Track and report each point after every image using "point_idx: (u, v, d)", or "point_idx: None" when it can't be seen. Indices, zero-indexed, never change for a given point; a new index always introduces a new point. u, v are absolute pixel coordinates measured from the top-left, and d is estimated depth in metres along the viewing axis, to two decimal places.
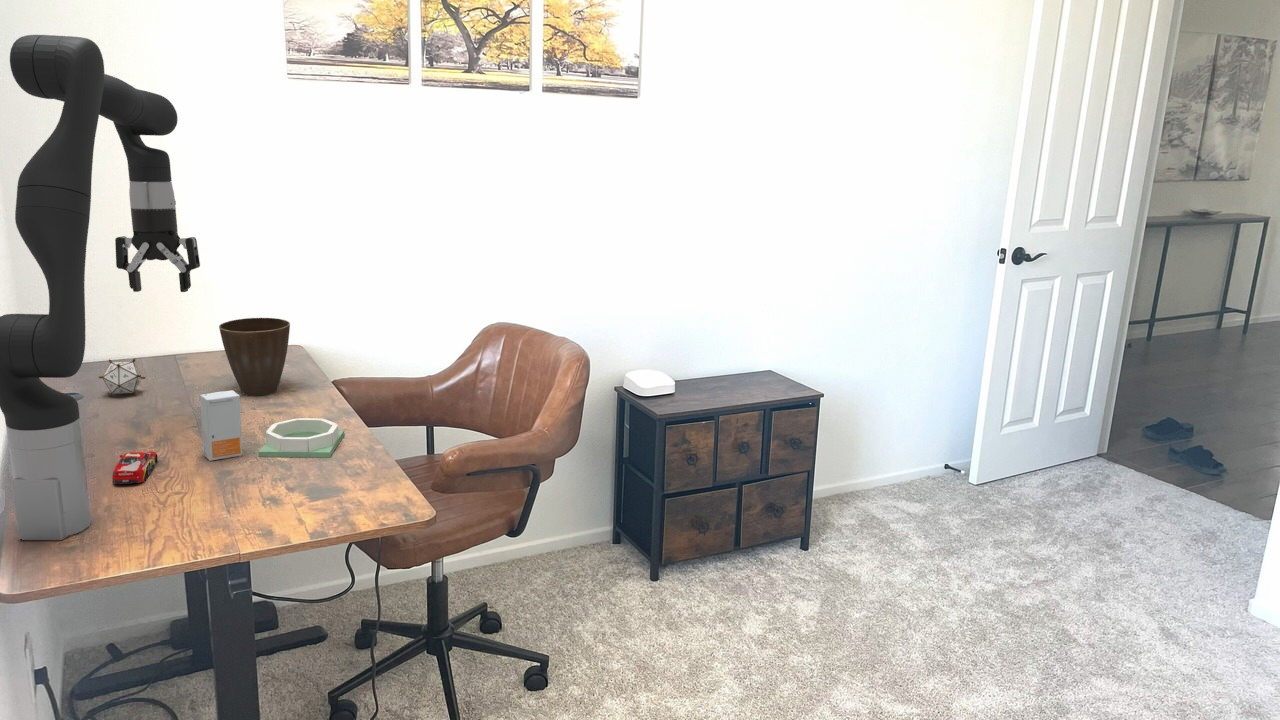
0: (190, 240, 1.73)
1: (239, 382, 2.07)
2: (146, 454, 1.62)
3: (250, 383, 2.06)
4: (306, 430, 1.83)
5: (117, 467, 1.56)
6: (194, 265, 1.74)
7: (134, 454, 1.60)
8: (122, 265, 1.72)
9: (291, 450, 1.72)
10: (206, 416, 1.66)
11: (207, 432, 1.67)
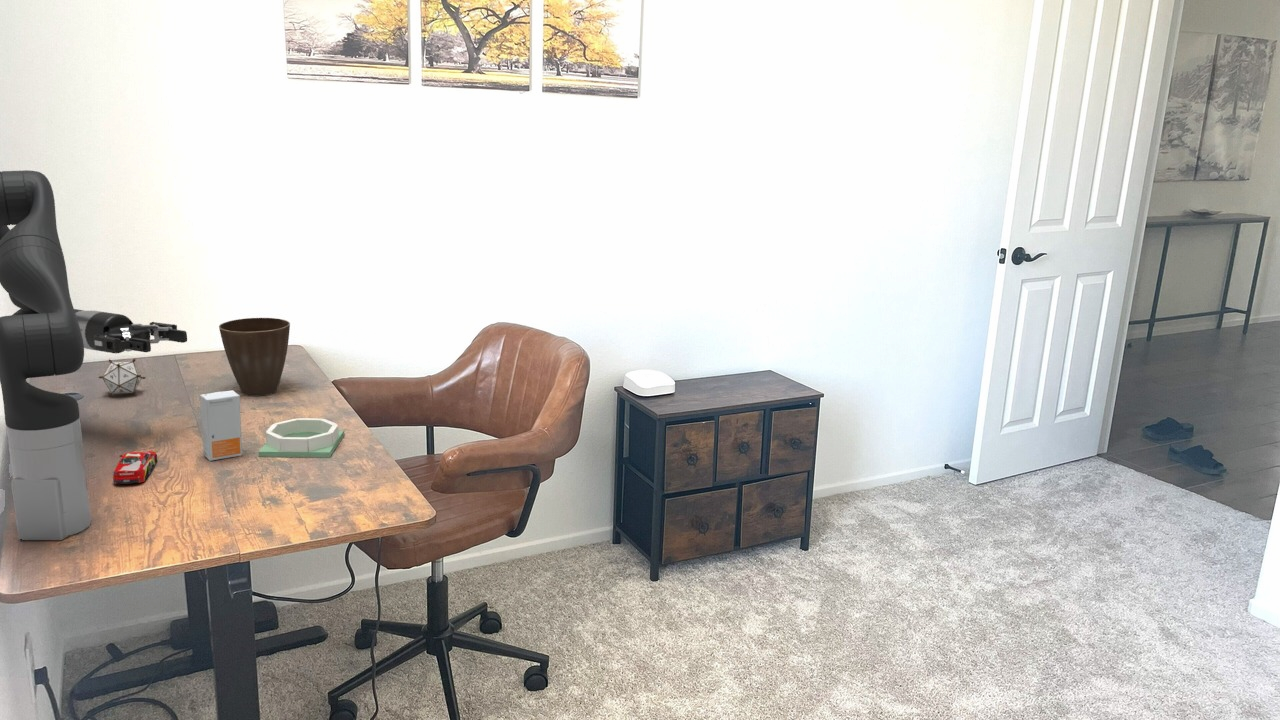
0: None
1: (239, 382, 2.07)
2: (146, 454, 1.62)
3: (250, 383, 2.06)
4: (306, 430, 1.83)
5: (118, 467, 1.56)
6: None
7: (134, 454, 1.60)
8: (118, 339, 1.65)
9: (291, 450, 1.72)
10: (206, 416, 1.66)
11: (207, 432, 1.67)
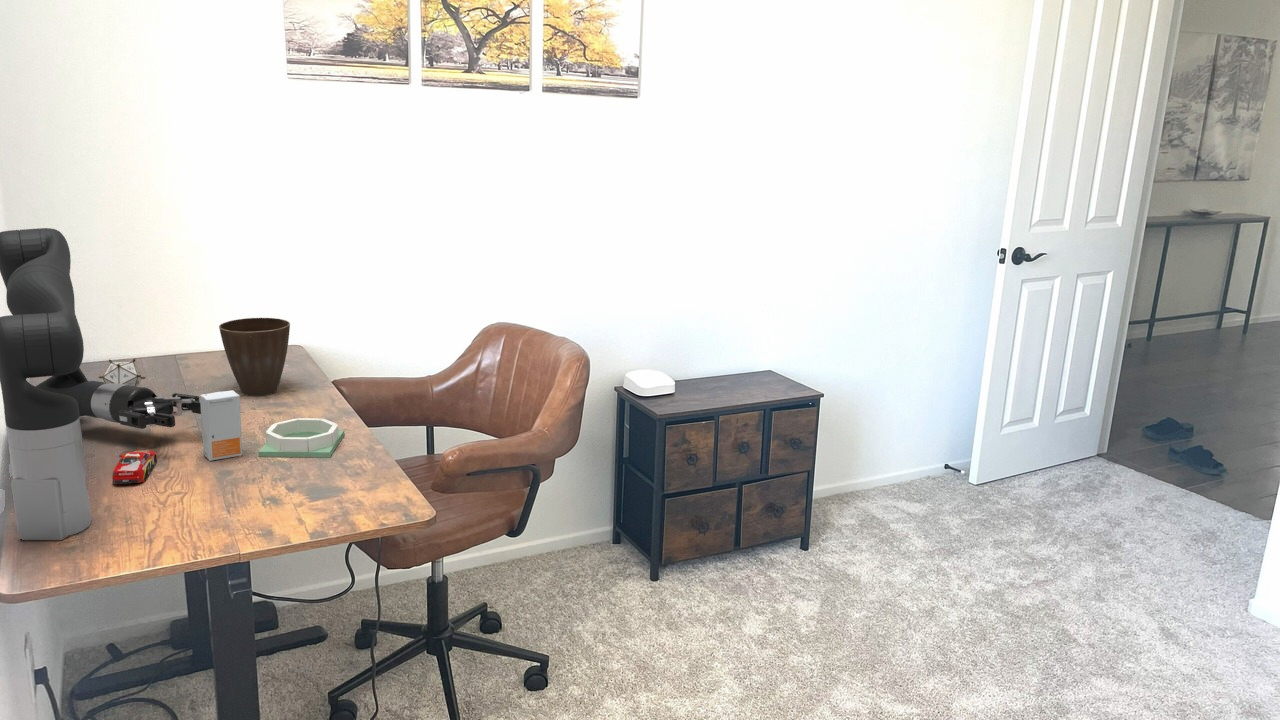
0: None
1: (239, 382, 2.07)
2: (146, 454, 1.62)
3: (250, 383, 2.06)
4: (306, 430, 1.83)
5: (117, 467, 1.56)
6: (196, 396, 1.79)
7: (134, 454, 1.60)
8: (143, 414, 1.67)
9: (291, 450, 1.72)
10: (206, 416, 1.66)
11: (207, 432, 1.67)
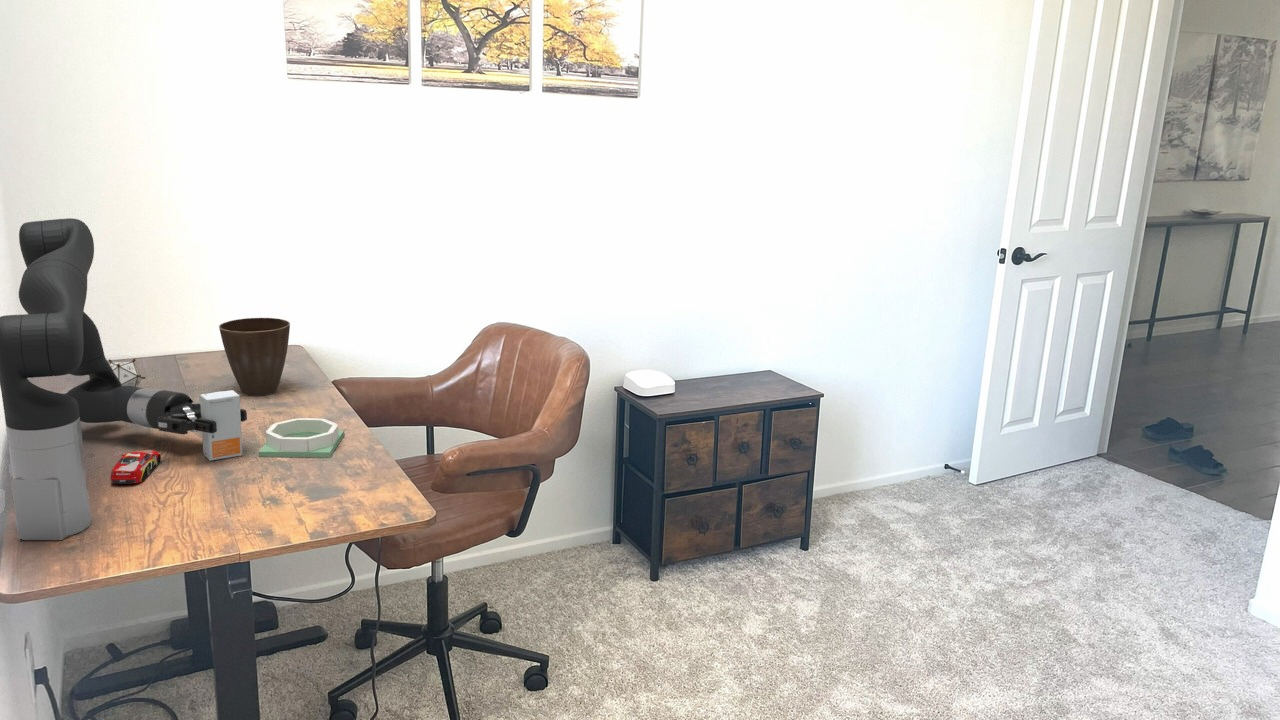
0: None
1: (239, 382, 2.07)
2: (147, 454, 1.62)
3: (250, 383, 2.06)
4: (306, 430, 1.83)
5: (116, 467, 1.56)
6: None
7: (134, 454, 1.60)
8: None
9: (291, 450, 1.72)
10: (206, 416, 1.66)
11: None
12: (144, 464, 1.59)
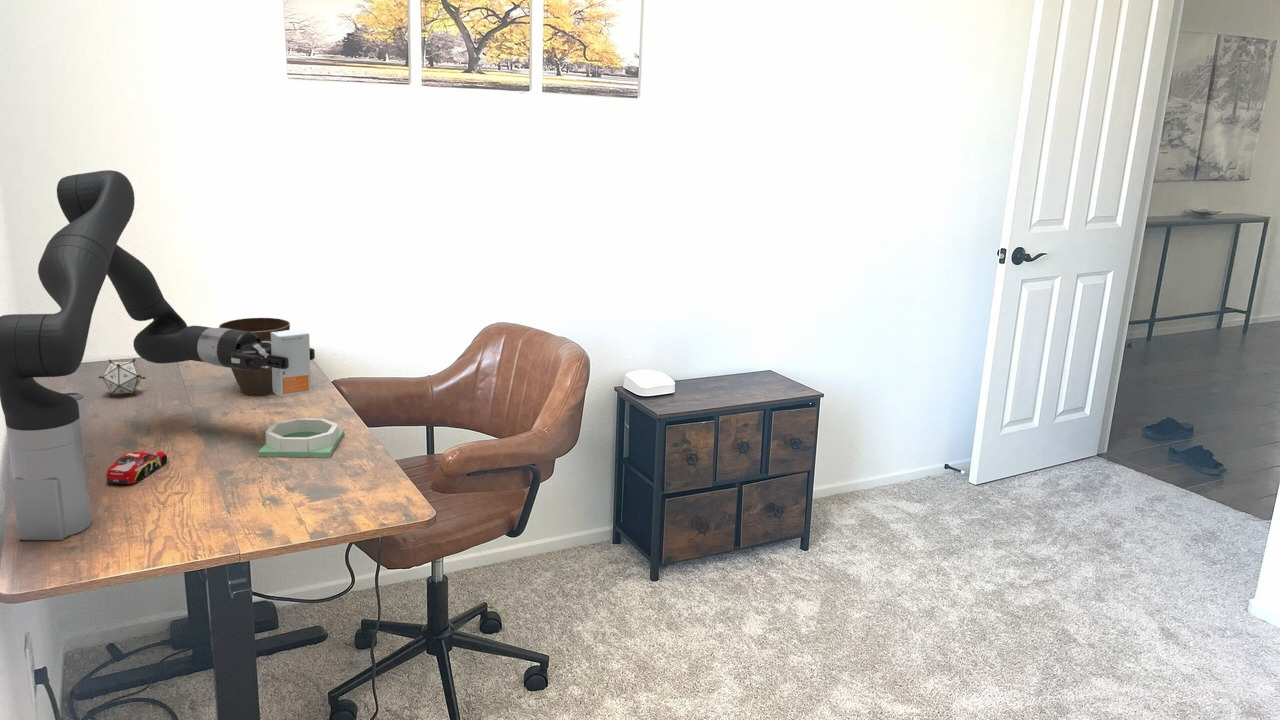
0: None
1: (239, 382, 2.07)
2: (148, 455, 1.61)
3: (250, 383, 2.06)
4: (306, 430, 1.83)
5: (112, 466, 1.57)
6: None
7: (135, 454, 1.60)
8: None
9: (291, 450, 1.72)
10: (278, 353, 1.71)
11: (278, 368, 1.71)
12: (141, 465, 1.59)
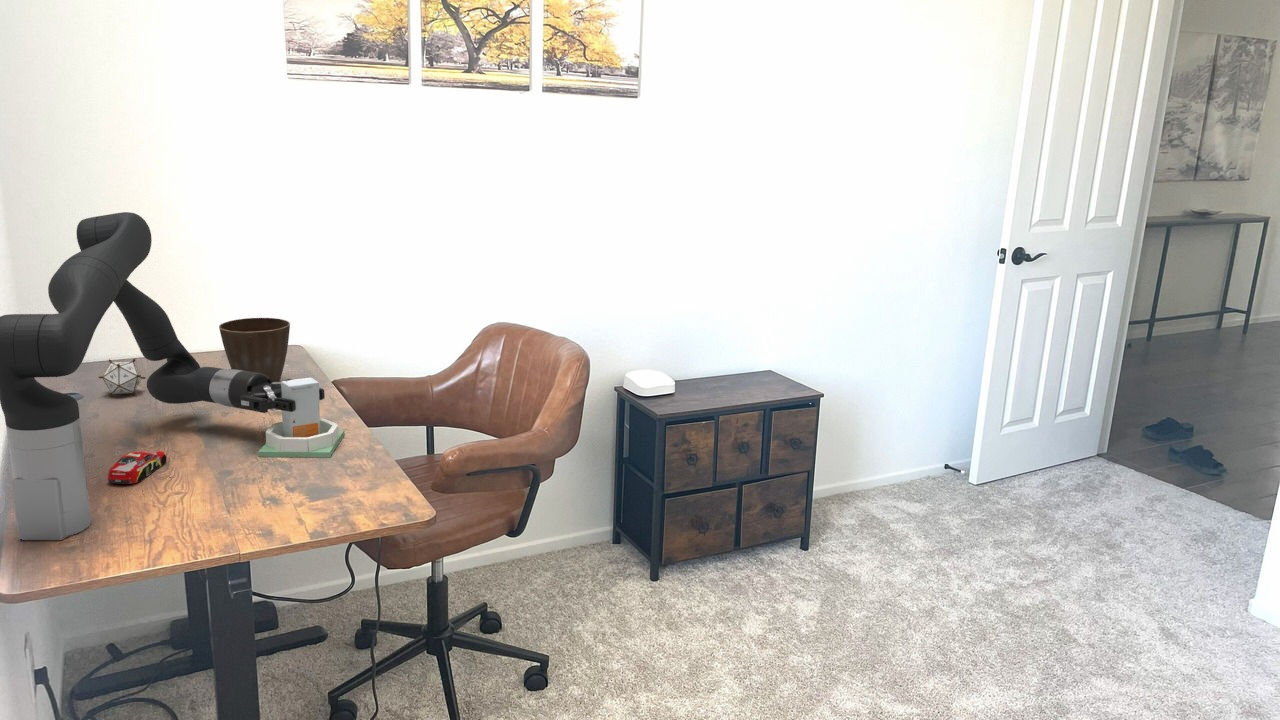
0: (289, 379, 1.84)
1: None
2: (148, 455, 1.61)
3: None
4: None
5: (113, 466, 1.57)
6: None
7: (135, 454, 1.60)
8: None
9: (291, 450, 1.72)
10: None
11: (288, 417, 1.74)
12: (143, 465, 1.59)
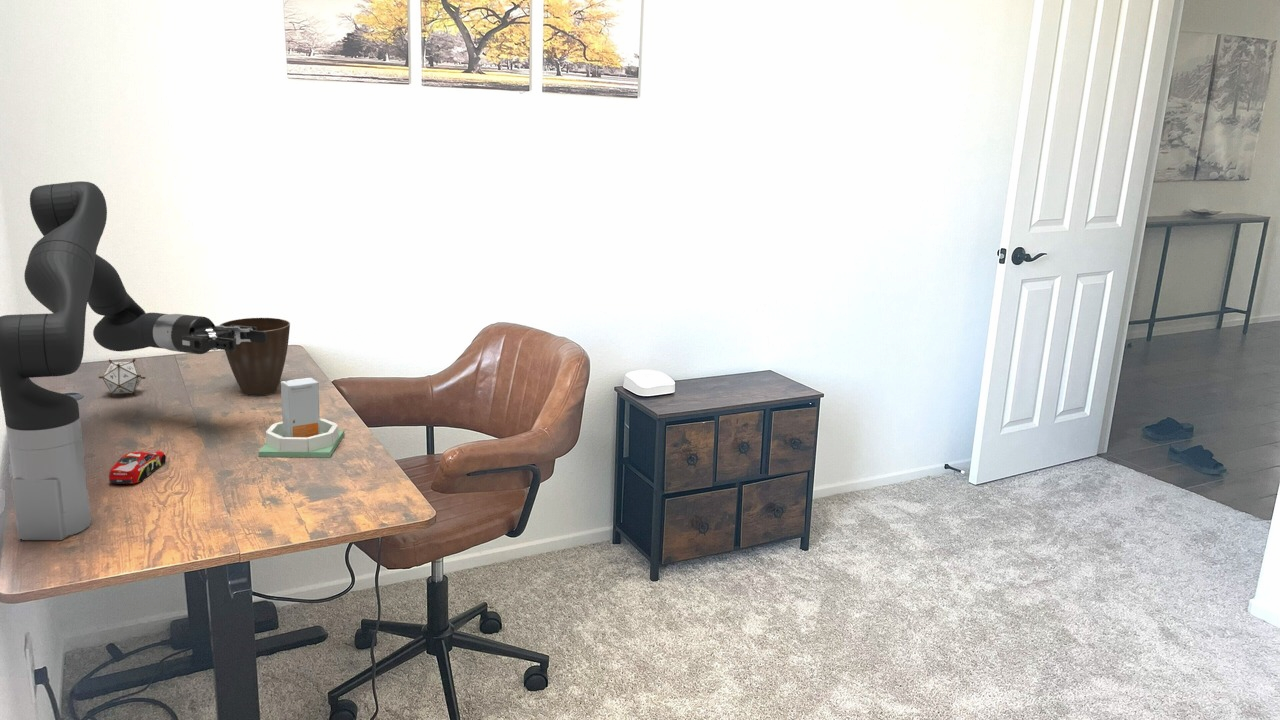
0: None
1: (239, 382, 2.07)
2: (148, 454, 1.61)
3: (250, 383, 2.06)
4: None
5: (114, 466, 1.57)
6: None
7: (136, 454, 1.60)
8: None
9: (291, 450, 1.72)
10: (288, 402, 1.73)
11: (288, 417, 1.74)
12: (143, 464, 1.59)
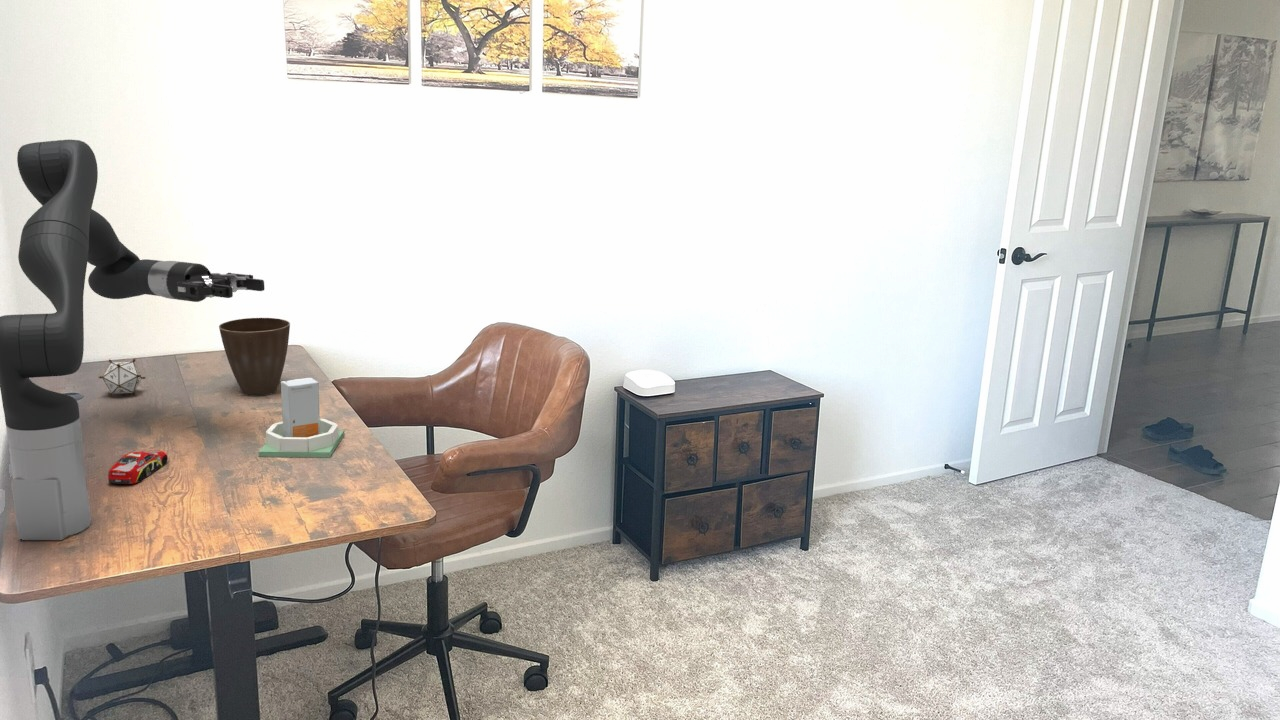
0: None
1: (239, 382, 2.07)
2: (149, 455, 1.61)
3: (250, 383, 2.06)
4: None
5: (114, 466, 1.57)
6: (250, 275, 1.82)
7: (136, 454, 1.60)
8: None
9: (291, 450, 1.72)
10: (288, 402, 1.73)
11: (288, 417, 1.74)
12: (143, 465, 1.59)
